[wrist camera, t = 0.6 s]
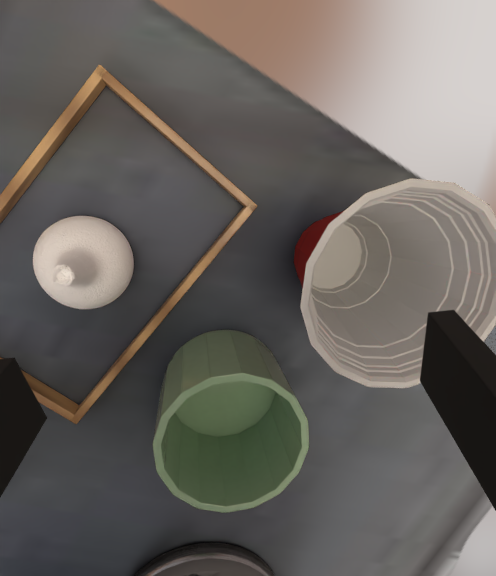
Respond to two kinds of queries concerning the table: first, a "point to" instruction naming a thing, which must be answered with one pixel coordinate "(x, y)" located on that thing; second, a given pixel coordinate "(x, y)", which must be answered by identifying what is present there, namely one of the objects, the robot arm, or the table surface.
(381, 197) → the plastic cup
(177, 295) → the frame
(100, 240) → the garlic bulb
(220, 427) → the cup
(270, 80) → the table surface
